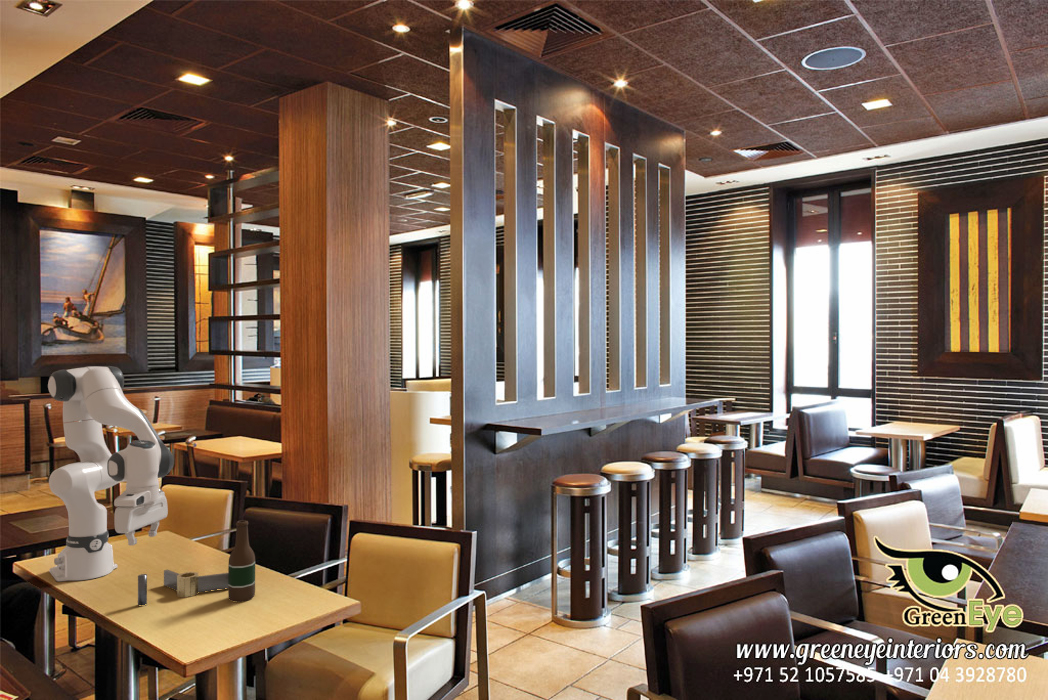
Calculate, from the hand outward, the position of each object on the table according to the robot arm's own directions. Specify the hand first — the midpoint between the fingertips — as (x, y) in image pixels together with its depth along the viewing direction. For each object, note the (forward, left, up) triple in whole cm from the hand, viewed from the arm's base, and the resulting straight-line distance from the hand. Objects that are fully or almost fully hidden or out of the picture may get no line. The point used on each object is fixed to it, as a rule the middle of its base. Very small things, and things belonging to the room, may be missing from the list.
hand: (142, 540), depth 208 cm
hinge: (-1, +18, -20) cm, 26 cm away
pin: (0, 0, -20) cm, 20 cm away
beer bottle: (+19, +21, -20) cm, 35 cm away
